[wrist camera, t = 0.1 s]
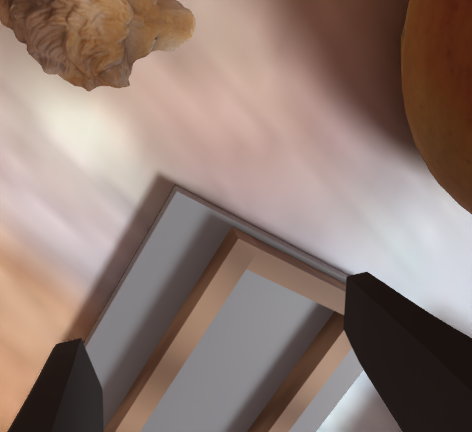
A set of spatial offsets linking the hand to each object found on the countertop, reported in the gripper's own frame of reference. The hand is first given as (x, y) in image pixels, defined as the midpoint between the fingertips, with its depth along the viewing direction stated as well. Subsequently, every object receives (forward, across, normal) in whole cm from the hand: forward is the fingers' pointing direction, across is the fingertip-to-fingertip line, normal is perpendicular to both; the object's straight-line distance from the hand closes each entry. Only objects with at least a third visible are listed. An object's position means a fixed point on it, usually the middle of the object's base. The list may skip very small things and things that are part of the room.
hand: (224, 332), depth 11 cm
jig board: (+9, 0, +12) cm, 15 cm away
